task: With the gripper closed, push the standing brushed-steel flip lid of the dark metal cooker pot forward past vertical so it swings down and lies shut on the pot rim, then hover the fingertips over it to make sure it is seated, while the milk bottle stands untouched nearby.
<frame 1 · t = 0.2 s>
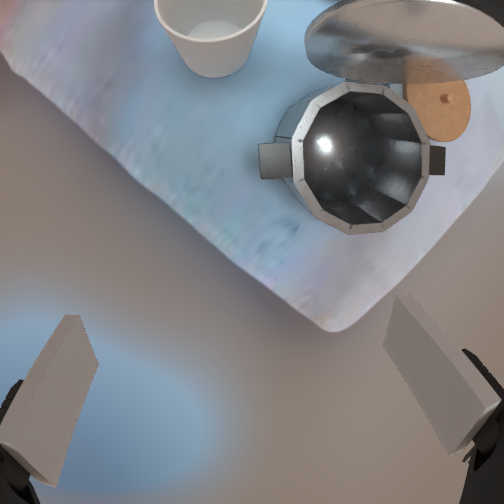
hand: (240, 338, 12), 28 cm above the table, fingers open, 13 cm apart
lid: (418, 41, 14), point 20 cm above the table, hinge at 100.0°
cup: (215, 47, 30), on the table
pot: (332, 149, 36), on the table
lidded jar: (407, 100, 34), on the table
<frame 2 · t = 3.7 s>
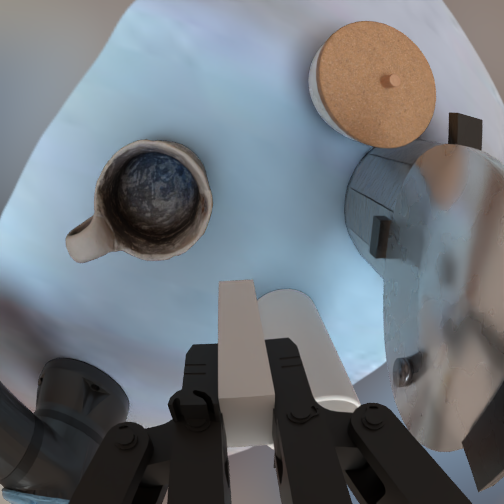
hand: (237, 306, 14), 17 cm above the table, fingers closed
lid: (441, 310, 12), point 20 cm above the table, hinge at 100.0°
cup: (282, 317, 36), on the table
mug: (154, 195, 29), on the table
pot: (403, 204, 31), on the table
lidded jar: (346, 90, 26), on the table
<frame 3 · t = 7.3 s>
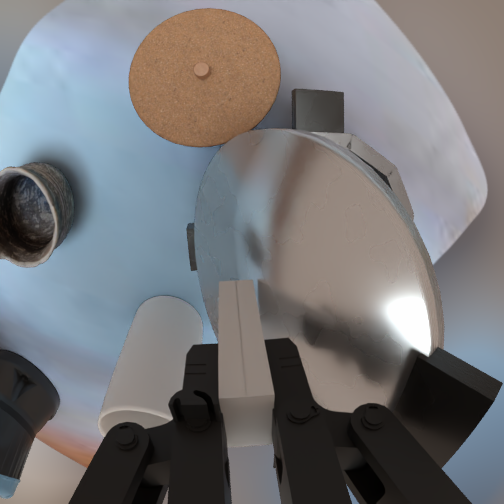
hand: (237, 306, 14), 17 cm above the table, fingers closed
lid: (284, 323, 13), point 19 cm above the table, hinge at 61.6°, touching gripper
cup: (168, 324, 35), on the table
mug: (44, 208, 28), on the table
pot: (289, 205, 30), on the table
lidded jar: (208, 87, 25), on the table
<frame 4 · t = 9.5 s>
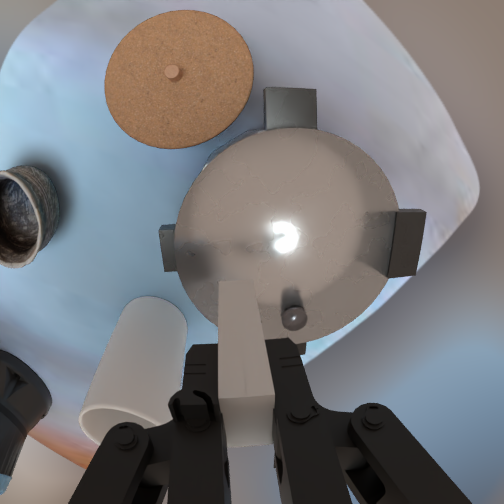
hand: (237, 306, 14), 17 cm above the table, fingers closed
lid: (309, 249, 20), point 11 cm above the table, hinge at 0.0°, touching pot
cup: (153, 324, 35), on the table
mug: (32, 210, 28), on the table
pot: (270, 205, 30), on the table
lidded jar: (188, 88, 25), on the table
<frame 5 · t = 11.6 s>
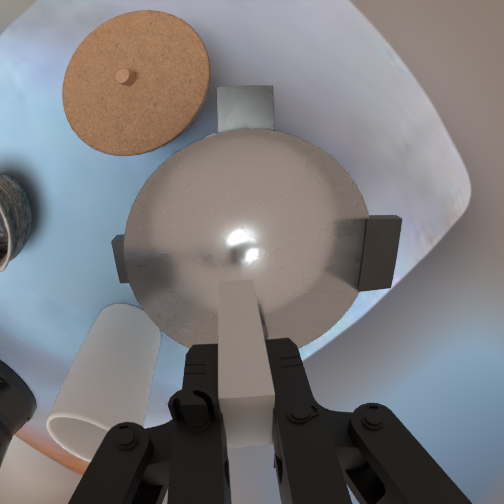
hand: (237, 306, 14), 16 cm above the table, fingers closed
lid: (267, 261, 18), point 11 cm above the table, hinge at 0.0°, touching pot
cup: (128, 331, 33), on the table
mug: (8, 217, 26), on the table
pot: (240, 211, 29), on the table
lidded jar: (154, 91, 24), on the table
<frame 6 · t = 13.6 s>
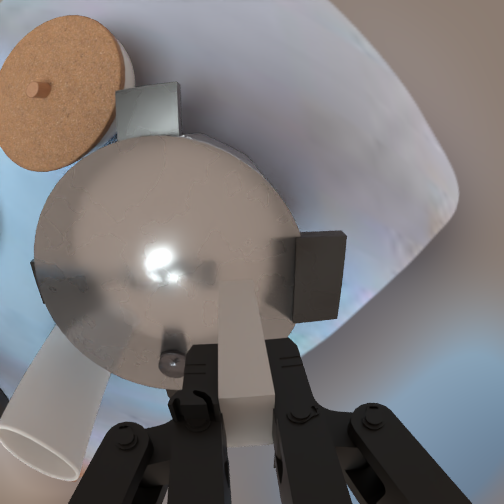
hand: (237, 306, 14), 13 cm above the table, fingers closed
lid: (177, 287, 16), point 11 cm above the table, hinge at 0.0°, touching pot
cup: (84, 344, 30), on the table
pot: (184, 222, 26), on the table
lidded jar: (92, 97, 21), on the table
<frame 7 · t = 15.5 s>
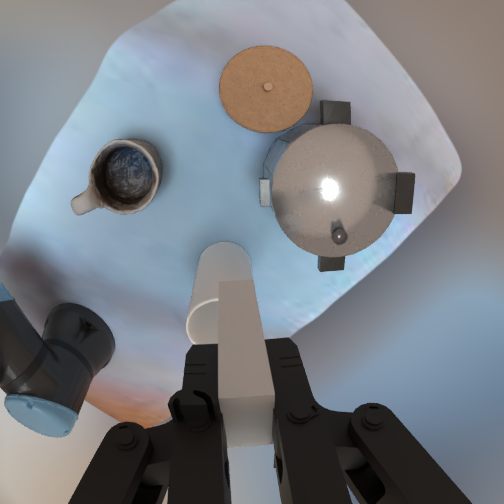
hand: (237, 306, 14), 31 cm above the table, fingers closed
lid: (348, 192, 33), point 11 cm above the table, hinge at 0.0°, touching pot
cup: (224, 265, 48), on the table
mug: (130, 175, 41), on the table
pot: (314, 175, 43), on the table
lidded jar: (260, 94, 38), on the table
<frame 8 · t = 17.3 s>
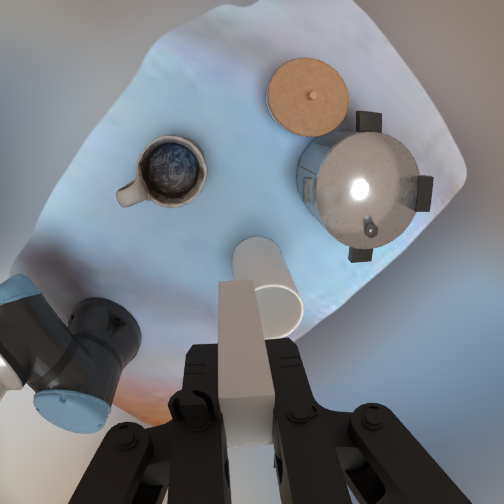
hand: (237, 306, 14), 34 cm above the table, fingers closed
lid: (379, 192, 36), point 11 cm above the table, hinge at 0.0°, touching pot
cup: (256, 259, 51), on the table
mug: (170, 171, 44), on the table
pot: (341, 176, 47), on the table
lidded jar: (296, 101, 42), on the table
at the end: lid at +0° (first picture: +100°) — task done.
